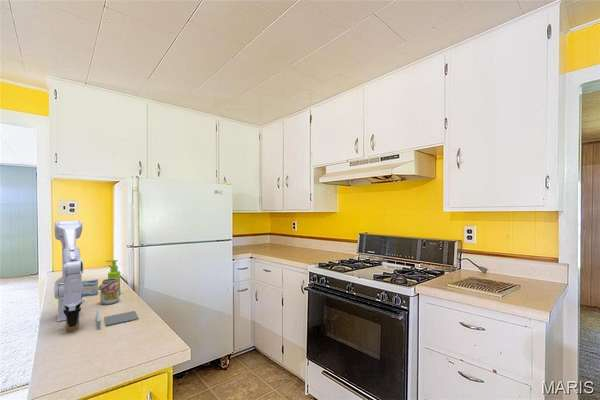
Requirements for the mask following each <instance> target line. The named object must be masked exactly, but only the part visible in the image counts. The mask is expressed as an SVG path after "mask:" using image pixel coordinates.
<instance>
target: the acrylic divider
mask: <svg viewBox="0 0 600 400" xmlns="http://www.w3.org/2000/svg"><path fill="white" fill-rule="evenodd" d="M95 322H96V330H97V331H99V330H101V316H100V310H99V309H97V310H96V311H95Z"/></svg>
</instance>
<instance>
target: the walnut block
mask: <svg viewBox="0 0 600 400" xmlns="http://www.w3.org/2000/svg"><path fill="white" fill-rule="evenodd" d="M65 324H66V325H65V331H66V333H68V332H72V331H77V330H80V316H79V314H78V318H77V323H76V326H73V327H69V325H68V321H67V317H66V320H65Z"/></svg>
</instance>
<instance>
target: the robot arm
mask: <svg viewBox="0 0 600 400" xmlns="http://www.w3.org/2000/svg"><path fill="white" fill-rule="evenodd" d="M82 233H83V221H82V220H81V219H77V220H73V219H72V220H56V221H55V222H54V237H55V240H58V241H60V243H61V253H62V254H61V255H62V256H61V258H62V259H61V260H62V261H61V264H62V265H61V266H62V267H61V268H62V271H61V272H62V274H61V276H60V278H58V279H57V280H55V282H54V289H53V290H54V299H56V300H57V303H58V305H57V308H58V309H57V317H56V319H55V320H56V323H57V322H62V321H66V317H67V321H68V325H69V327H73V326H76V323H77V318H78V314H79V317H80V314H81V313H80V312H81V310H82V307H81V305H82V304H81V302H82V303H84V302H85V301H86V299H85V298H83V297H82V290H83V287H82V281H83V280H82V278H83V277H82V274H83V273H84V262H83V260H82V257H81V250H80V248H79V247H78V246H77V239H80V238H81V236H82Z"/></svg>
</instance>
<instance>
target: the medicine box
mask: <svg viewBox="0 0 600 400" xmlns="http://www.w3.org/2000/svg"><path fill="white" fill-rule="evenodd" d="M82 287H83V290H82V298H85V297H93V296H97V295H98V294H99V290H98V287H99V279H98V278H95V279H87V280H86V279H84V280H82Z"/></svg>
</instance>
